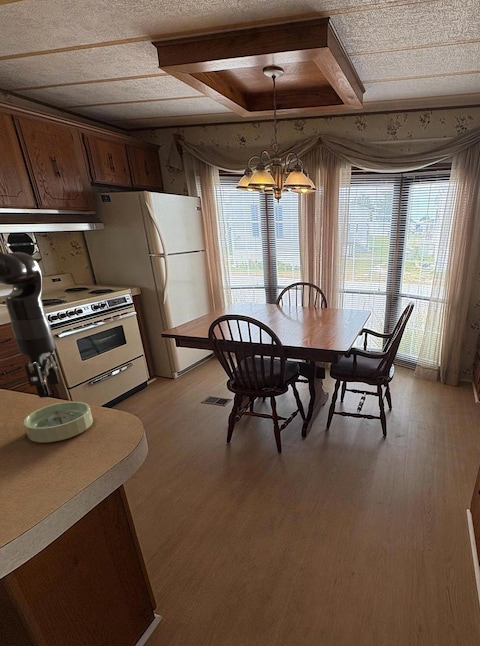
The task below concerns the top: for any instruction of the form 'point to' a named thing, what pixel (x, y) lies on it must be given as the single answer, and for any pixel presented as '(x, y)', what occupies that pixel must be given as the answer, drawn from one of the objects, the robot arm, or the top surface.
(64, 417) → the crumpled paper
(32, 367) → the robot arm
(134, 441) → the top surface
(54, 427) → the bowl
